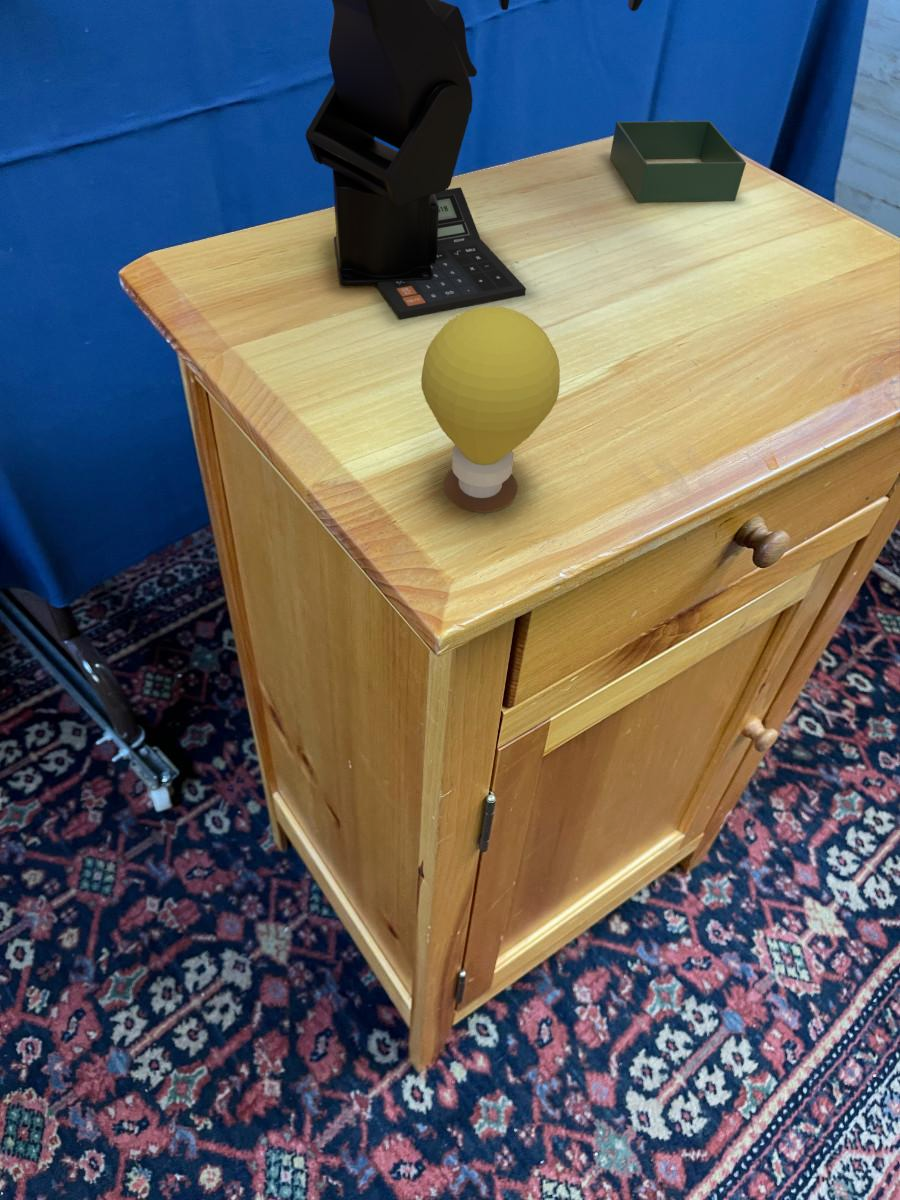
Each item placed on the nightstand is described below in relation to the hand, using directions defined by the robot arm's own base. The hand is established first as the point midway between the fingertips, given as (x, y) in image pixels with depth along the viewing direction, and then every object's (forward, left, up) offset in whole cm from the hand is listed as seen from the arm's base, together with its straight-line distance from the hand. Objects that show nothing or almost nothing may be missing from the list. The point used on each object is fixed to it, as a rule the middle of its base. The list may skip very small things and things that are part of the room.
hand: (568, 8), depth 60 cm
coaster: (-11, -34, -13) cm, 38 cm away
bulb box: (+12, +3, -13) cm, 18 cm away
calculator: (-11, -10, -14) cm, 20 cm away
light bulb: (-11, -34, -13) cm, 38 cm away
